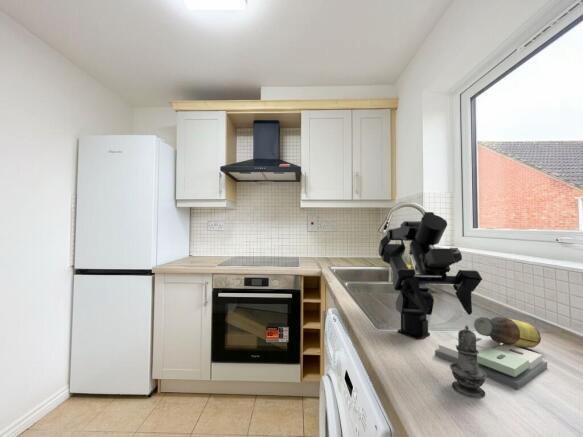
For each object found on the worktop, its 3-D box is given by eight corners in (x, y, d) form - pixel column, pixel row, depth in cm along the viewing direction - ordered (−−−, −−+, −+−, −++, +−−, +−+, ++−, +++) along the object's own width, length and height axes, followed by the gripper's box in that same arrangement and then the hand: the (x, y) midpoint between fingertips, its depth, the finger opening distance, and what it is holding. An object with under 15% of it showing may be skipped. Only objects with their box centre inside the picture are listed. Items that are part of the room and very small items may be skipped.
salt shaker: (494, 401, 47) (492, 332, 48) (457, 396, 48) (456, 329, 49) (477, 382, 53) (476, 321, 53) (445, 379, 54) (444, 319, 55)
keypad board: (435, 355, 64) (434, 343, 64) (468, 341, 72) (468, 330, 73) (517, 389, 50) (517, 374, 51) (547, 367, 59) (546, 354, 59)
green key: (474, 367, 57) (474, 353, 57) (489, 359, 61) (489, 346, 61) (515, 383, 51) (514, 367, 51) (529, 373, 55) (528, 359, 55)
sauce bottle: (520, 318, 72) (476, 304, 64) (547, 333, 67) (504, 319, 59) (508, 338, 73) (464, 327, 65) (534, 355, 67) (489, 345, 60)
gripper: (395, 235, 65) (413, 291, 53) (476, 236, 63) (512, 294, 52) (387, 264, 72) (401, 318, 61) (458, 265, 71) (486, 321, 59)
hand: (448, 313), depth 58 cm, fingers open, 9 cm apart
